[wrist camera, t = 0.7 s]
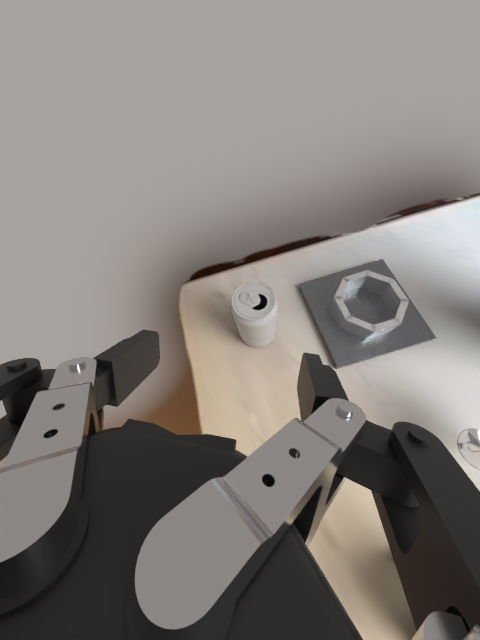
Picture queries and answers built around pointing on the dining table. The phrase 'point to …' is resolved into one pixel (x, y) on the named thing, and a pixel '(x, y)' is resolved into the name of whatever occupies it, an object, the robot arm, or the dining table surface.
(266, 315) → the beverage can
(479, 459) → the wineglass
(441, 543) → the robot arm
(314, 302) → the collar stand
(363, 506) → the dining table surface
